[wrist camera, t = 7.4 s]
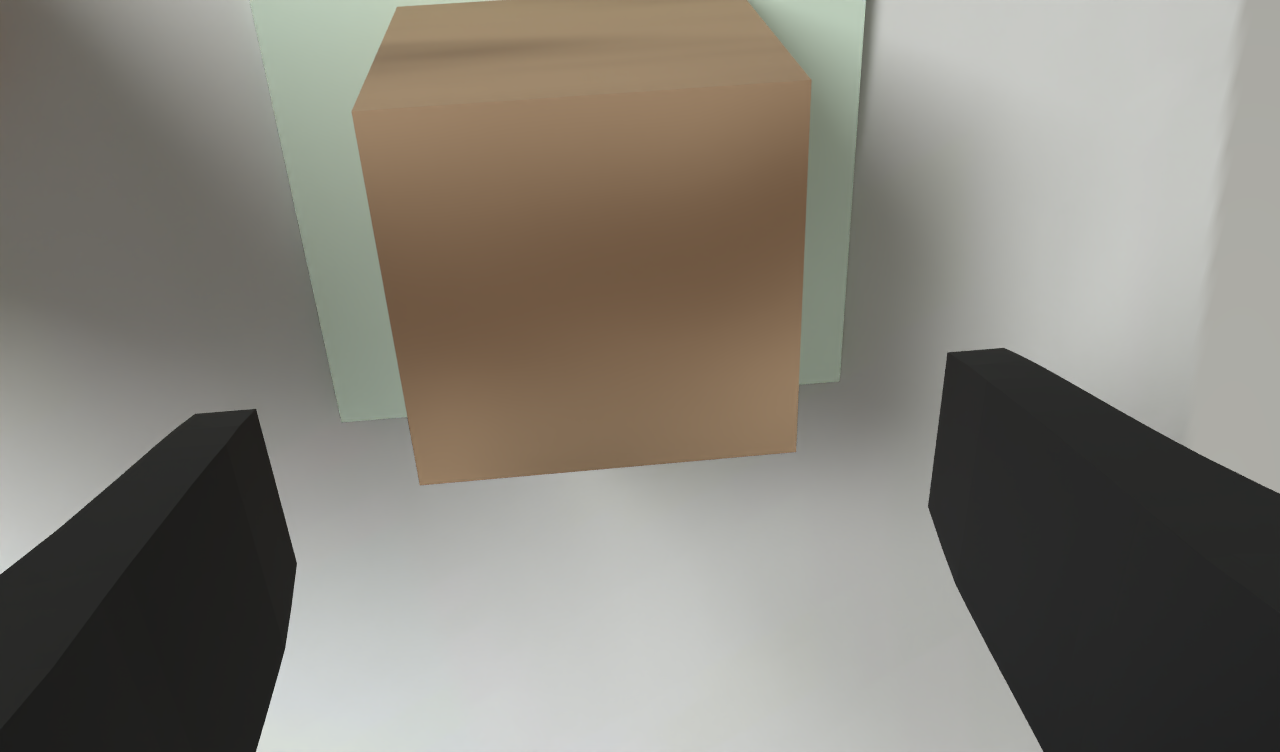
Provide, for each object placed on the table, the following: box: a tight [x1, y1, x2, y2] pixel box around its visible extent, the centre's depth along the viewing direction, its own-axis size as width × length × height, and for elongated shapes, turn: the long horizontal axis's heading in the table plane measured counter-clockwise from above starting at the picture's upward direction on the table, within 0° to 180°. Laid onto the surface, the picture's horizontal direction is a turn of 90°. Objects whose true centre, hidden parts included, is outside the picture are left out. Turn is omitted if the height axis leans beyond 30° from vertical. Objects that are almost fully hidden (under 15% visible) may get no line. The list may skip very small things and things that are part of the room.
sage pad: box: [249, 0, 866, 423], centre depth 19 cm, size 10×10×1 cm
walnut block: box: [351, 0, 812, 485], centre depth 17 cm, size 6×6×6 cm
